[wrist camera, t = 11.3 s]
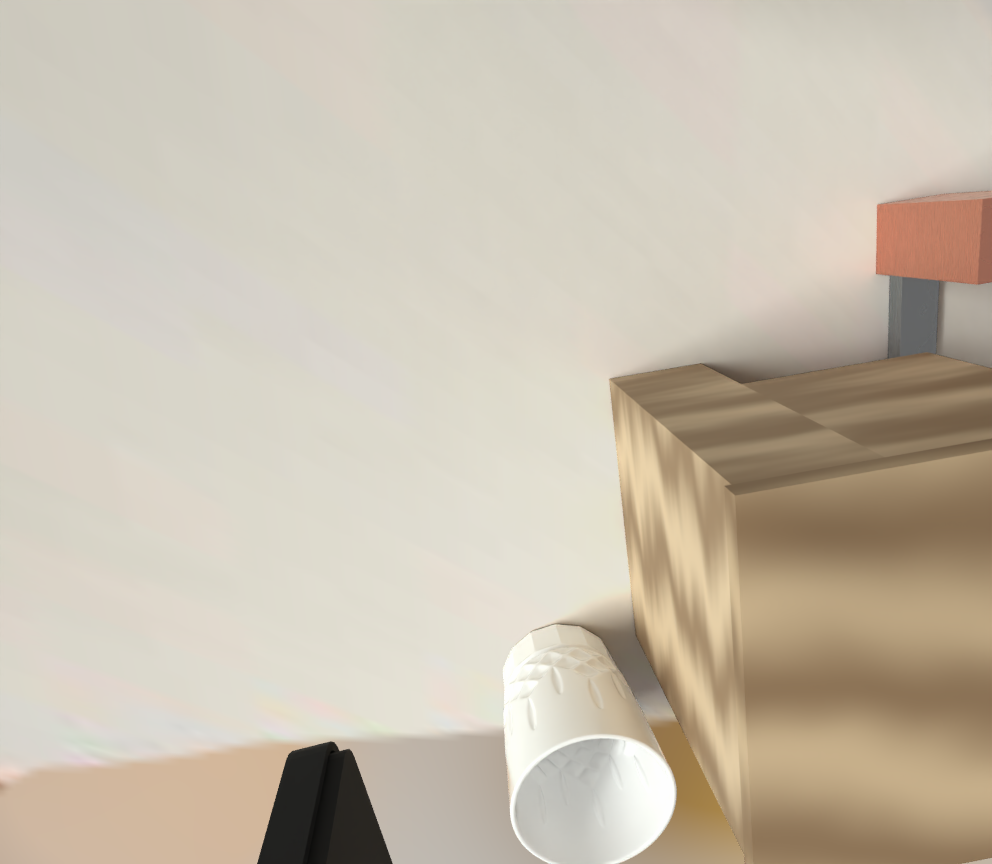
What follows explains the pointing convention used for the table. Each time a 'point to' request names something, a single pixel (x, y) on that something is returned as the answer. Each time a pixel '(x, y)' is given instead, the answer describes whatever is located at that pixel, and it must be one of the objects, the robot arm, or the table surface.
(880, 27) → the table surface
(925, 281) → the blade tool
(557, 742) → the white cup
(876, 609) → the oak bench cabinet
